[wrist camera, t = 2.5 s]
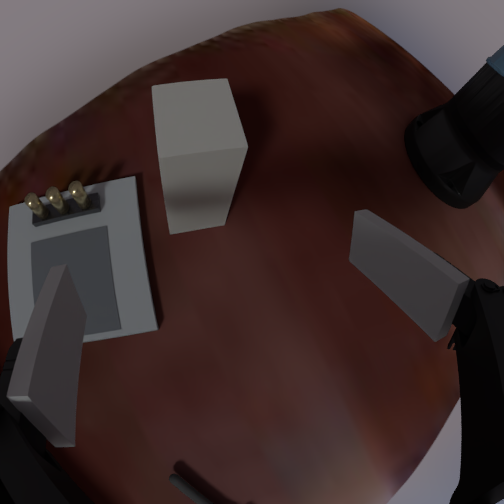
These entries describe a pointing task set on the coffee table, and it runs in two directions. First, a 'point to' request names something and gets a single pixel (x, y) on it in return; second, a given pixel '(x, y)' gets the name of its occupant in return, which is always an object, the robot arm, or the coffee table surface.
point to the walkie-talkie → (188, 490)
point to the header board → (85, 263)
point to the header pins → (62, 205)
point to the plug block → (198, 151)
